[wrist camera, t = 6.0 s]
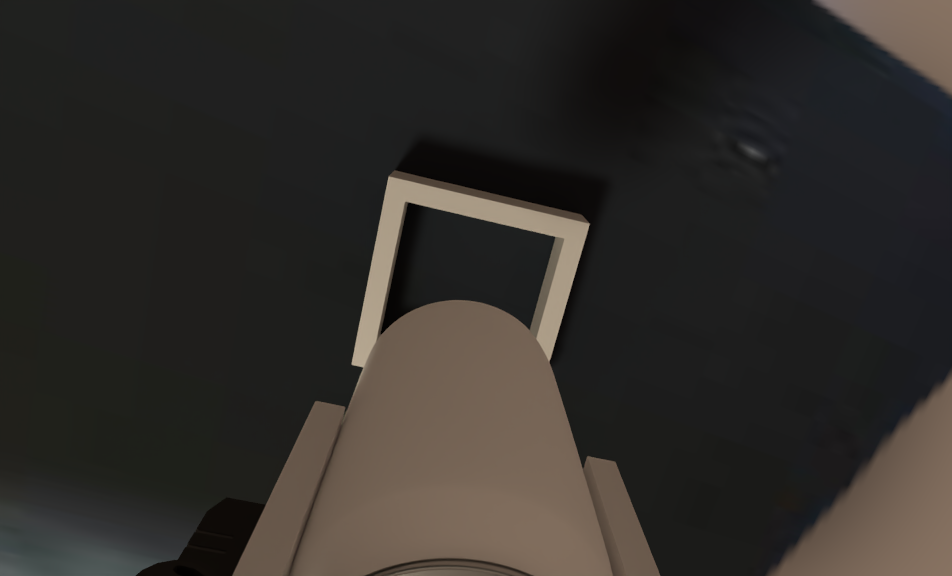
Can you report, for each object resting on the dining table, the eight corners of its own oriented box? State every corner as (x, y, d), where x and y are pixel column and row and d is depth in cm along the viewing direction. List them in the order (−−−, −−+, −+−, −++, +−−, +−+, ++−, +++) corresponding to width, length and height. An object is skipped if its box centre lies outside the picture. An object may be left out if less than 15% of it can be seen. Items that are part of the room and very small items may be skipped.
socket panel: (394, 170, 33) (388, 176, 31) (581, 214, 34) (589, 223, 32) (318, 552, 40) (308, 581, 38) (475, 582, 41) (476, 612, 38)
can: (575, 435, 23) (685, 786, 11) (404, 489, 23) (344, 875, 12) (518, 268, 21) (579, 487, 10) (333, 331, 22) (182, 609, 10)
